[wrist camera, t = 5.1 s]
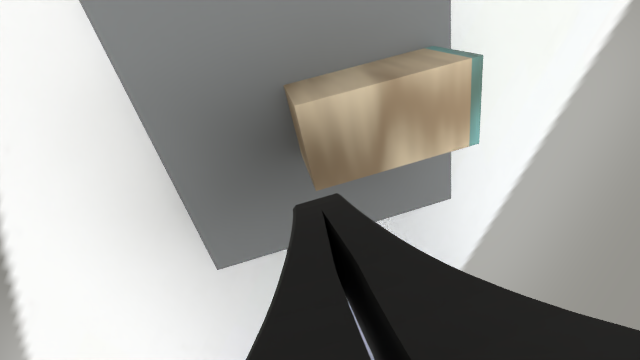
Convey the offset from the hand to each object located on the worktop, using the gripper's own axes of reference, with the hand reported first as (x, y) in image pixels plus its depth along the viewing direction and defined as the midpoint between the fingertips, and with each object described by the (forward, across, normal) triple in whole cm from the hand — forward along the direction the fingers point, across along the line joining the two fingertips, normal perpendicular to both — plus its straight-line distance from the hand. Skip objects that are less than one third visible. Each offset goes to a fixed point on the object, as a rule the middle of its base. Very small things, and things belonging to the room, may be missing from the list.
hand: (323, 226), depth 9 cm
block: (+7, 0, 0) cm, 7 cm away
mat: (+9, -1, 0) cm, 10 cm away
